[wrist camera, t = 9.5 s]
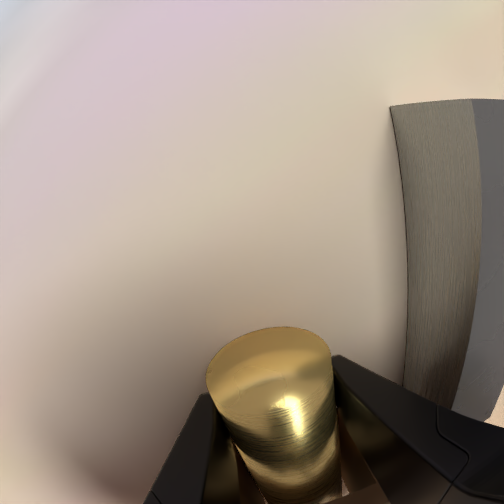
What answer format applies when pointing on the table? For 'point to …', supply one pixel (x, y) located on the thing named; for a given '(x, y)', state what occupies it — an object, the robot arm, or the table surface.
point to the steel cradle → (454, 250)
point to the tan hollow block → (353, 473)
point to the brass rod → (281, 412)
